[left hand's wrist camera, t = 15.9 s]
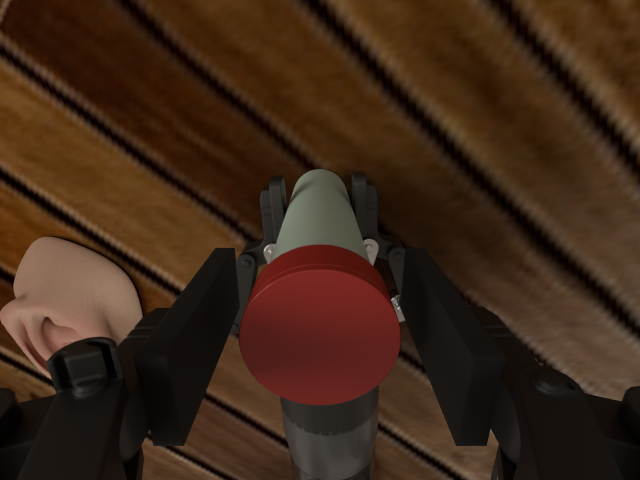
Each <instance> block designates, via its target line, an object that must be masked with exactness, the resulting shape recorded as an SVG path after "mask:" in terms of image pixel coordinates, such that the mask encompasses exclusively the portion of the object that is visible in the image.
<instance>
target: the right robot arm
mask: <svg viewBox="0 0 640 480" xmlns="http://www.w3.org/2000/svg"><path fill="white" fill-rule="evenodd" d="M377 202H378V193H377V190H376V188H375V185H374V184H373V183H372V181H366V175H365V173H364V172H363V171H362V172H352V209H353V212H354V215H355V218H356V221H357V224H358V227H359V230H360V233H361V236H362V239H363V242H364V245H365V248H366V251H367V254H368V258H369V261H370V263H371V264H372V265H373V264H374V261H375V258H376V257H378V258H381V259H385V260H387V263H388V266H389V269H390V272H391V276H392V279H393V282H394V285H395V288H396V289H393V290H391V292H390V293H389V295H390V298H391V300H392V303H393V306H394V308H395V311H396V314H397V317H398V320H399V322H403V321H405V318H404V316H403V313H402V311H401V309H400V301H401V290H402V279H403V268H404V258H405V249H404V247H403V246H402V244H401V242H400V241H399V239H398V237H397V236H395V235H385V234H382V233H380V232H378V231H377V216H378V210H377V208H378V203H377ZM260 206H261V214H262V223H263V231H264V238H262V239H260V240H258V241H249V242H247V243H246V244H245V246H244V248H243V251H242V253H241V254H240V255H239V257H238V259H237V261H236V268H237V279H238V290H239V301H240V309H239V311H238V313H237V316H236V318H235V321H234V323H233V326H232V328H231V331H230V333H232V334H238V333H239V329H240V323H241V320H242V317H243V314H244V311H245V308H246V306H247V303H248V300H249V298H250V295H251V293H252V290H253V287H254V285H255V281H256V276H257V271H258V266H260V265H262V264H265V263H268V264H269V263H270V261H271V258H272V255H273V251H274V248H275V245H276V242H277V239H278V236H279V233H280V230H281V227H282V224H283V221H284V218H285V215H286V212H287V202H286V191H285V180H284V176H283V175H282V176H272V177H271V179H270V180H269V186H265V187H264V189H263V190H262V193H261V196H260ZM280 400H281V408H282V416H283V425H284V430H285V435H286V438H287V441H288V444H289V448H290V455H291V464H292V474H293V480H378V477H377V475H376V473H375V439H376V435H377V428H378V385H377V386H376V387H375V388H373V389H372V390H370V391H369V392H367V393H366V394H364V395H362V396H360V397H358V398H355V399H352V400H350V401H346V402H343V403H338V404H332V405H308V404H302V403H297V402H294V401H290V400H288V399H285V398H282V397H280Z"/></svg>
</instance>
